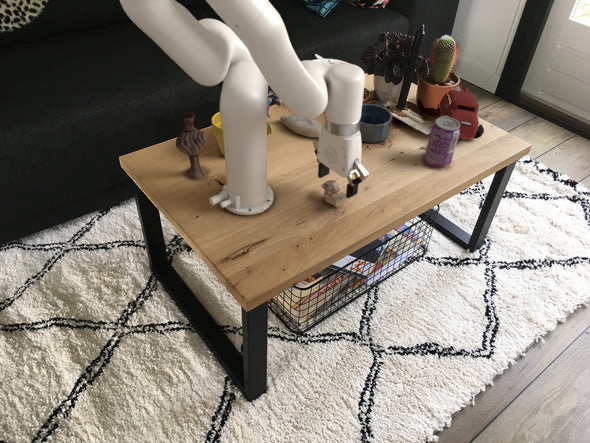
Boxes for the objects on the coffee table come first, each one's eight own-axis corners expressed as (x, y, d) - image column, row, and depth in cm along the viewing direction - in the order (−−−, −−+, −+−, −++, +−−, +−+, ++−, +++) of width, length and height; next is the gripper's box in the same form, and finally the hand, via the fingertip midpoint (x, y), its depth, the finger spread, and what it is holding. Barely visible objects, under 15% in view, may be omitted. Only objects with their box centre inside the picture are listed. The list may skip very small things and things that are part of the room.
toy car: (464, 101, 162) (476, 72, 155) (484, 150, 141) (499, 119, 135) (420, 93, 161) (431, 64, 154) (434, 141, 140) (447, 110, 134)
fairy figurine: (344, 68, 148) (335, 51, 151) (323, 70, 146) (314, 53, 149) (338, 83, 153) (330, 66, 156) (318, 85, 151) (309, 69, 154)
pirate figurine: (220, 99, 132) (255, 63, 137) (227, 128, 143) (260, 93, 148) (262, 124, 128) (296, 86, 133) (266, 151, 140) (297, 115, 145)
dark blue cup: (368, 148, 139) (372, 130, 135) (340, 130, 145) (342, 112, 141) (397, 135, 145) (400, 116, 141) (368, 117, 151) (371, 99, 147)
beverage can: (448, 154, 138) (459, 116, 130) (451, 170, 133) (464, 131, 125) (422, 152, 139) (432, 114, 131) (425, 167, 134) (435, 129, 125)
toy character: (333, 199, 126) (330, 176, 124) (350, 206, 119) (347, 183, 117) (319, 203, 125) (316, 180, 122) (335, 211, 118) (332, 187, 115)
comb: (425, 139, 142) (444, 133, 149) (428, 131, 141) (447, 126, 147) (386, 116, 150) (405, 111, 156) (388, 109, 148) (408, 104, 155)
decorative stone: (285, 117, 149) (285, 107, 147) (331, 133, 144) (332, 123, 142) (274, 127, 145) (274, 117, 143) (322, 143, 140) (322, 133, 138)
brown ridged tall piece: (182, 182, 125) (173, 119, 113) (178, 170, 129) (168, 108, 116) (211, 176, 127) (205, 114, 115) (206, 165, 131) (200, 103, 118)
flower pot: (240, 135, 141) (239, 104, 134) (259, 154, 135) (259, 122, 128) (207, 146, 136) (204, 115, 130) (225, 166, 130) (223, 134, 124)
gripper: (303, 112, 110) (301, 174, 122) (358, 147, 101) (351, 211, 112) (328, 101, 114) (324, 162, 126) (384, 134, 104) (374, 197, 116)
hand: (337, 185), depth 119 cm, fingers open, 9 cm apart
